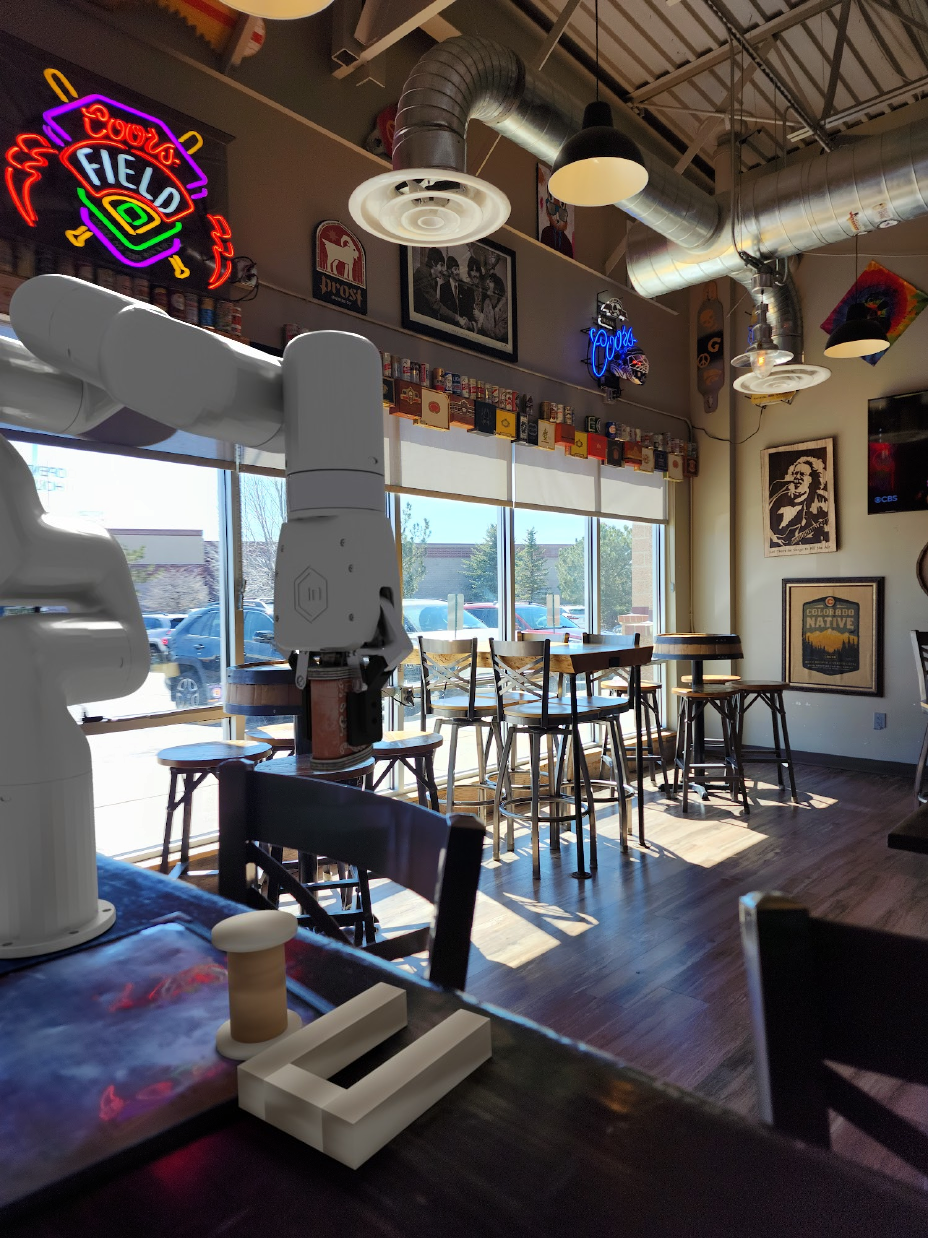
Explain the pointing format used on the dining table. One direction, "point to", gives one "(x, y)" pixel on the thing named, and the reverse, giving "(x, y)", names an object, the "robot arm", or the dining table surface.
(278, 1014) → the bobbin
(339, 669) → the lighter
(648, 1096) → the dining table surface
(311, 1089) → the notched board
